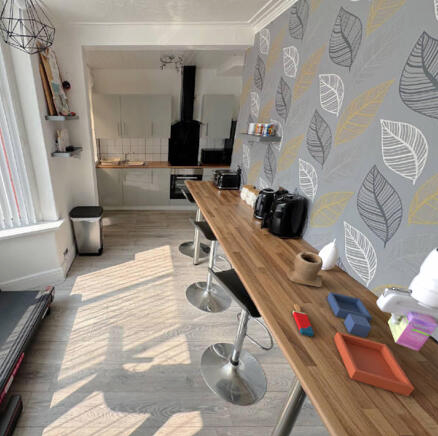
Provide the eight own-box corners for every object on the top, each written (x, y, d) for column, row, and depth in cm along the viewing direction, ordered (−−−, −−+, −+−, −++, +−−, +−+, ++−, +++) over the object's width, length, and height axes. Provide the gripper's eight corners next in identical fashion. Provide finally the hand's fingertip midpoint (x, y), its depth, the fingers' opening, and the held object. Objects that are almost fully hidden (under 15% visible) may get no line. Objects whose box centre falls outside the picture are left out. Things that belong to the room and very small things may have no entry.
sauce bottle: (328, 266, 125) (340, 236, 117) (335, 274, 118) (348, 243, 110) (311, 263, 126) (323, 234, 119) (317, 272, 119) (330, 241, 112)
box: (419, 352, 75) (438, 324, 70) (395, 343, 77) (411, 316, 73) (409, 329, 83) (425, 303, 78) (387, 322, 85) (402, 296, 81)
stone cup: (288, 285, 109) (297, 257, 103) (284, 270, 119) (293, 245, 113) (326, 294, 104) (338, 266, 98) (319, 278, 114) (330, 252, 108)
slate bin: (356, 305, 99) (359, 298, 97) (368, 324, 89) (372, 317, 88) (327, 298, 102) (329, 292, 100) (335, 316, 93) (339, 309, 91)
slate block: (359, 326, 88) (365, 317, 86) (365, 337, 84) (371, 327, 82) (343, 322, 90) (348, 313, 88) (349, 333, 85) (354, 323, 83)
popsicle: (302, 304, 96) (315, 334, 83) (301, 307, 96) (314, 337, 83) (290, 301, 97) (300, 330, 84) (289, 304, 98) (299, 333, 84)
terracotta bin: (381, 351, 79) (385, 344, 77) (408, 396, 66) (414, 388, 65) (333, 338, 83) (337, 331, 81) (350, 378, 70) (355, 370, 69)
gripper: (393, 291, 73) (375, 324, 79) (483, 309, 67) (456, 343, 72) (382, 279, 78) (366, 311, 84) (464, 295, 72) (441, 327, 78)
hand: (408, 326), depth 78 cm, fingers closed on box, 6 cm apart
